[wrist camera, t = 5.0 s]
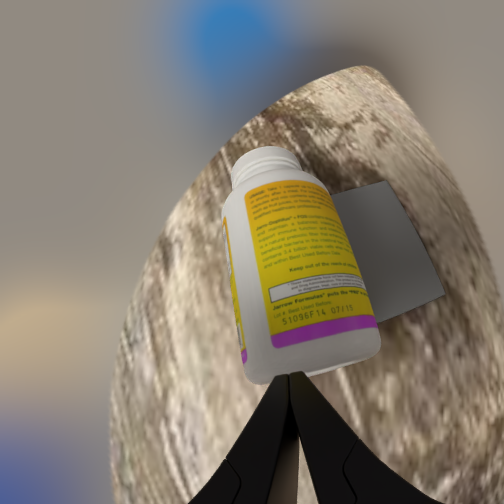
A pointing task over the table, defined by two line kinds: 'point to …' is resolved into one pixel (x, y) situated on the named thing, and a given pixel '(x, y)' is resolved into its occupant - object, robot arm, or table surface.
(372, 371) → the table surface
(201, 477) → the table surface
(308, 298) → the supplement bottle
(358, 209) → the mat
